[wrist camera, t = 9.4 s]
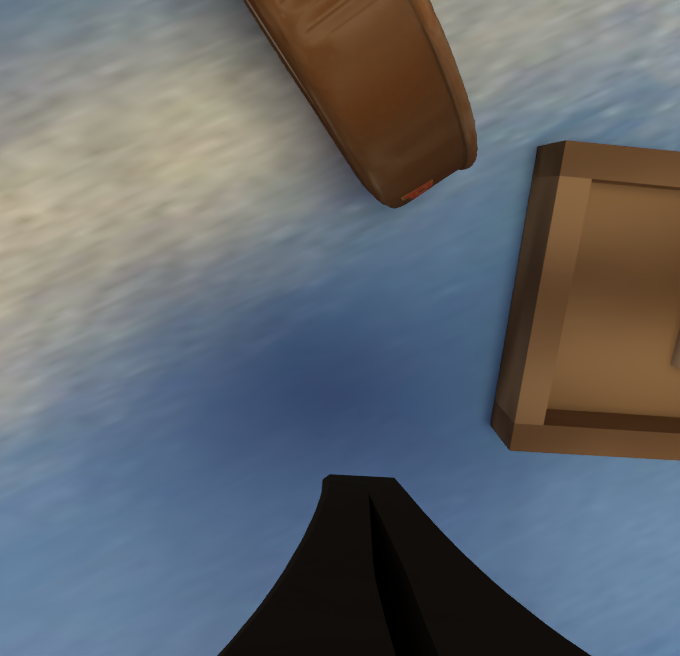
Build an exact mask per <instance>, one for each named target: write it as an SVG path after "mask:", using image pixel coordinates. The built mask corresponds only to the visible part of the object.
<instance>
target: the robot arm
mask: <svg viewBox="0 0 680 656" xmlns="http://www.w3.org/2000/svg"><path fill="white" fill-rule="evenodd" d="M217 656H591V655H589V654H588V653H586V652H585V651H583V650H582V649H580V648H579V647H577V646H576V645H575V644H573V643H572V642H570V641H569V640H567V639H566V638H564V637H563V636H562V635H560V634H559V633H557V632H556V631H555V630H553V629H552V628H551V627H549V626H548V625H547V624H545V623H544V622H543V621H541V620H540V619H539V618H537V617H536V616H535V615H534V614H532V613H531V612H530V611H529V610H527V609H526V608H525V607H524V606H522V605H521V604H520V603H519V602H517V601H516V600H515V599H513V598H512V597H511V596H510V595H508V594H507V593H506V592H505V591H504V590H503V589H501V588H500V587H499V586H498V585H497V584H496V583H494V582H493V581H492V580H491V579H490V578H489V577H488V576H487V575H486V574H485V573H484V572H482V571H481V570H480V569H479V568H478V567H477V566H476V565H475V564H474V563H473V562H472V561H471V560H470V559H468V558H467V557H466V556H465V555H464V554H463V553H462V552H461V551H460V550H459V549H458V548H457V547H456V546H455V545H454V544H453V543H452V542H451V541H450V540H449V539H448V538H447V537H446V535H445V534H444V533H443V532H442V531H441V530H440V529H439V528H438V527H437V526H436V525H435V524H434V523H433V522H432V520H431V519H430V518H429V517H428V516H427V515H426V514H425V513H424V512H423V510H422V509H421V508H420V507H419V506H418V505H417V504H416V502H415V501H414V500H413V499H412V498H411V497H410V495H409V494H408V493H407V492H406V491H405V490H404V489H403V487H402V486H401V485H400V484H399V483H398V482H397V481H396V479H395V478H388V477H370V476H351V475H333V474H329V475H328V476H327V477H325V478H324V479H323V482H322V493H321V496H320V500H319V503H318V505H317V508H316V511H315V513H314V515H313V518H312V520H311V522H310V524H309V526H308V528H307V530H306V533H305V535H304V537H303V539H302V541H301V542H300V544H299V546H298V548H297V549H296V551H295V553H294V554H293V556H292V558H291V560H290V561H289V563H288V565H287V566H286V568H285V570H284V571H283V573H282V574H281V576H280V577H279V579H278V580H277V582H276V583H275V585H274V586H273V588H272V589H271V591H270V592H269V593H268V595H267V596H266V598H265V599H264V600H263V602H262V603H261V604H260V606H259V607H258V608H257V610H256V611H255V612H254V613H253V615H252V616H251V617H250V618H249V619H248V621H247V622H246V623H245V624H244V625H243V627H242V628H241V629H240V630H239V631H238V633H237V634H236V635H235V636H234V637H233V639H232V640H231V641H230V642H229V643H228V644H227V646H226V647H225V648H224V649H223V650H222V651H221V652H220V653H219V654H218V655H217Z"/></svg>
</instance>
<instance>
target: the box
mask: <svg viewBox="0 0 680 656" xmlns="http://www.w3.org/2000/svg"><path fill="white" fill-rule="evenodd" d="M491 427H492V428H493V429H494V431H495V432H496V433H497V435H498V436H499V437H500V439H501V440H502V441H503V443H504V444H505V445H506V446H507V448H508V449H509V450H510V451H526V452H543V453H560V454H578V455H595V456H612V457H629V458H646V459H663V460H680V152H677V151H667V150H657V149H647V148H637V147H627V146H617V145H607V144H596V143H586V142H576V141H561V142H556V143H551V144H547V145H542V146H538V150H537V155H536V161H535V167H534V173H533V179H532V185H531V191H530V196H529V202H528V208H527V214H526V220H525V226H524V232H523V238H522V243H521V249H520V255H519V261H518V267H517V273H516V279H515V284H514V290H513V296H512V302H511V308H510V314H509V320H508V326H507V331H506V337H505V343H504V349H503V355H502V361H501V367H500V372H499V378H498V384H497V390H496V396H495V402H494V408H493V414H492V419H491Z"/></svg>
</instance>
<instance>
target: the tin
mask: <svg viewBox="0 0 680 656" xmlns="http://www.w3.org/2000/svg"><path fill="white" fill-rule="evenodd" d="M243 1H244V2H245V4H246V5H247V7H248V9H249V10H250V12H251V13H252V15H253V17H254V18H255V20H256V21H257V23H258V25H259V26H260V28H261V29H262V31H263V32H264V34H265V36H266V37H267V39H268V40H269V42H270V43H271V45H272V46H273V48H274V50H275V51H276V53H277V54H278V56H279V57H280V59H281V61H282V62H283V64H284V65H285V67H286V68H287V70H288V71H289V73H290V74H291V76H292V77H293V79H294V81H295V82H296V84H297V85H298V87H299V88H300V90H301V91H302V93H303V94H304V96H305V97H306V99H307V100H308V102H309V103H310V105H311V106H312V108H313V110H314V111H315V113H316V114H317V116H318V117H319V119H320V120H321V122H322V124H323V125H324V127H325V128H326V130H327V131H328V133H329V134H330V136H331V138H332V139H333V141H334V142H335V144H336V145H337V147H338V148H339V150H340V151H341V153H342V155H343V156H344V158H345V159H346V161H347V162H348V164H349V165H350V167H351V168H352V170H353V171H354V173H355V174H356V176H357V177H358V179H359V180H360V181H361V183H362V184H363V186H364V187H365V188H366V189H367V190H368V191H369V192H370V193H371V194H372V195H373V196H374V197H375V198H376V199H377V200H378V201H380V202H381V203H382V204H384V205H387V206H389V207H391V208H398V207H401V206H403V205H405V204H407V203H408V202H410V201H412V200H413V199H415V198H416V197H418V196H419V195H421V194H422V193H424V192H425V191H427V190H428V189H430V188H431V187H432V186H434V185H435V184H437V183H438V182H440V181H441V180H443V179H444V178H446V177H447V176H449V175H450V174H452V173H454V172H455V171H457V170H458V169H459V170H464V169H467V168H470V167H471V166H472V165H473V163H474V162H475V160H476V157H477V150H478V148H477V134H476V130H475V120H474V118H473V113H472V110H471V106H470V102H469V100H468V96H467V93H466V90H465V87H464V84H463V81H462V79H461V76H460V73H459V70H458V68H457V65H456V62H455V59H454V57H453V54H452V51H451V49H450V46H449V44H448V41H447V39H446V37H445V34H444V31H443V29H442V27H441V24H440V22H439V20H438V18H437V16H436V14H435V12H434V9H433V6H432V3H431V2H430V0H243Z"/></svg>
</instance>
